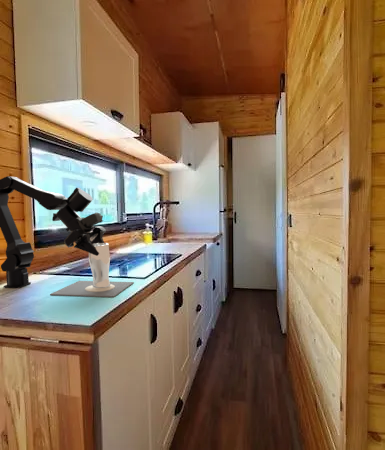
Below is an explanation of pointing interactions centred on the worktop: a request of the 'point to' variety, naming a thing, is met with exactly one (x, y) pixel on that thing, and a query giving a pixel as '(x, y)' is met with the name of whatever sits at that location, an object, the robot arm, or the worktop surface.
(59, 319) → the worktop surface
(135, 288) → the worktop surface
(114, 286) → the slate mat
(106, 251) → the beer glass
